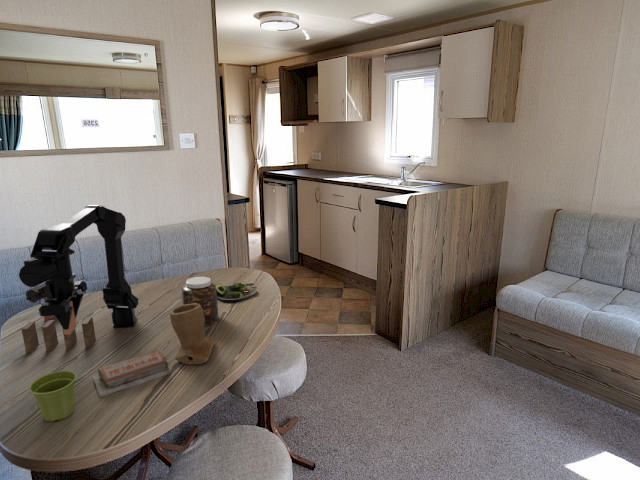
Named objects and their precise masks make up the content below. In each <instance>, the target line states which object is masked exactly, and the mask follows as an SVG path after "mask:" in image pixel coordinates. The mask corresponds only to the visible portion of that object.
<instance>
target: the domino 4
mask: <svg viewBox="0 0 640 480" xmlns="http://www.w3.org/2000/svg"><path fill="white" fill-rule="evenodd" d="M61 328H62V334H63V339H64V345H65V346H64V347H65V350H72V349H73V348H74V346H75V345H76V343H77V342H78V338H77V332H76V328H75V329H74V330H73V332H72V333H71V334H67V335H64V331H63V327H62V326H61Z"/></svg>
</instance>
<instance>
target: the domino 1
mask: <svg viewBox="0 0 640 480" xmlns="http://www.w3.org/2000/svg"><path fill="white" fill-rule="evenodd" d="M21 334H22V338H23V339H22V340H23V344H24V349H25V354H32V353H33V352H34V351H35V350H36V349H37V348H38V347H39V346H40V343H39V337H38V331H37V326H36V322H35V321H29V322H27V323H26V324H25V325H24V326H23V327H22V328H21Z"/></svg>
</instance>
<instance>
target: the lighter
mask: <svg viewBox="0 0 640 480" xmlns="http://www.w3.org/2000/svg"><path fill="white" fill-rule="evenodd" d="M48 300H55V298H52V299H47V297H45V298H43V300H42V301H41V302H40V305H41V306H42V305H43V304H44V303H45V302H46V301H48ZM43 318H44V319H43V322H44V324H46V323H47V322H48V320H54V321H55V322H56V321H58V320H57V318H56V317H55V316H54V315H51V316H43Z"/></svg>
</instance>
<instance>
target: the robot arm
mask: <svg viewBox="0 0 640 480" xmlns="http://www.w3.org/2000/svg"><path fill="white" fill-rule="evenodd" d="M126 223H127V220H126V217H125V215H124V214H123V213H122V212H119V211H116V210H112V209H110V208H107V207H106V206H103V205H100V204H88V205H86V206H84V208H83V209H81V210H80V211H79V212H77V213H75V214H74V215H73V216H71V217H69V218H68V219H67V220H65V221H64V222H63V221H62V223H60V224H57V225H56V224H55V225H51V226H47V227H45V228H43V229H40V230H39V231H38V233H37V236H36V239H35V241H34V245H33V247H32V250H31V252H30V253H31V254H30V255H29V256H30V258H31V259H27V260H24V261H23V266H22V267H21V268H20V270H19V273H18V277H19V280H20V282H22V284H24V285H25V286H27V287H29V289H27V290H26V294H25V296H26V298H25V300H26V301H29V302H31V303H32V304H35V303H38V301H40V300H44V298H45V297H47V299H52V298H55V300H48V301H46V302H45V303H44V304H43V305H41V306H40V307H39V308H38V313H39V316H40V317H44V316H51V315H54V316H55V317H56V318H57V320H56V321H58V323H59V324H60V326H61V328H62V327H63V329H64V330H67V329H69V325H70V320H71V315H72V311H73V308H74V314H75V320H76V319H77V316H78V312H79V309H80V307H81V304H82V301H83V297H84V293H85V292H86V291H87V290H88V285H87V282H86V281H84V280H74V279H76V277H77V275H76V273H74V272H73V269H72V262H71V257H70V256H71V255H73V254H75V250H73V249H71V248H70V247H71V246H72V245H74V243H75V241H76V237H77V236H78V235H79V234H81V232H84V231H85V230H86V229H87V228H89V227H90V226H91V225H93V224H95V225H96V227H97V232H98V233H99V235H100V236H101V237H102V238H103V241H104V249H105V260H106V269H107V270H106V271H107V279H108V282H107V284H106V286H105V287H103V288H102V289H101V290H102V297H103V298H102V300H103V301H104V303H105V305H106V308H107V310H112V312H111V320H112V324H113V325H112V327H113V329H116V328H125V327H134V326H135V324H136V322H137V320H138V318H137V317H136V310H135V309H136V308H137V307H138V305H139V298H138V297H137V296H135V295H134V294H133V293H132V286H131V285H130V284H129V283H128V282H127V280H126V278H125V268H124V257H123V248H122V246H123V245H122V237H123V236H124V233H125V232H126ZM79 290H80V292H81V293H79ZM69 301H72V303H73V306H70V303H69ZM63 329H62V330H63Z"/></svg>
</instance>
